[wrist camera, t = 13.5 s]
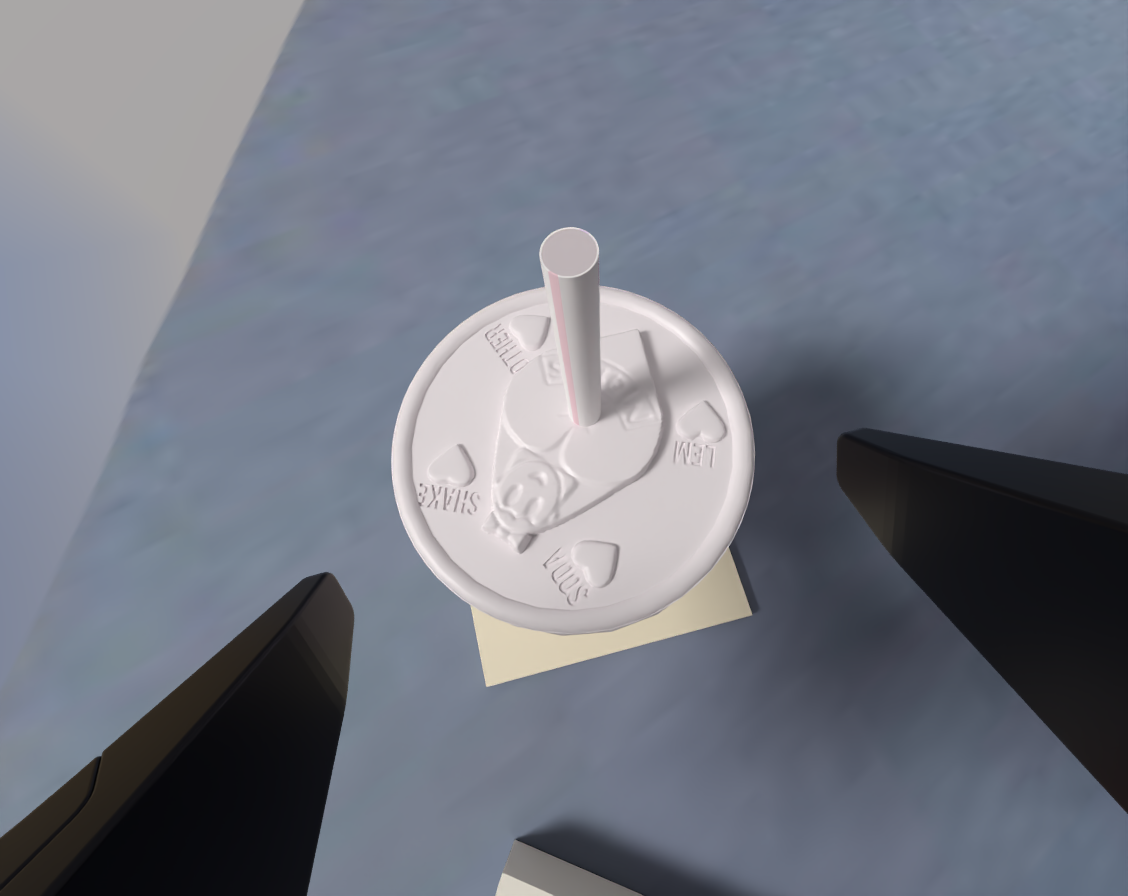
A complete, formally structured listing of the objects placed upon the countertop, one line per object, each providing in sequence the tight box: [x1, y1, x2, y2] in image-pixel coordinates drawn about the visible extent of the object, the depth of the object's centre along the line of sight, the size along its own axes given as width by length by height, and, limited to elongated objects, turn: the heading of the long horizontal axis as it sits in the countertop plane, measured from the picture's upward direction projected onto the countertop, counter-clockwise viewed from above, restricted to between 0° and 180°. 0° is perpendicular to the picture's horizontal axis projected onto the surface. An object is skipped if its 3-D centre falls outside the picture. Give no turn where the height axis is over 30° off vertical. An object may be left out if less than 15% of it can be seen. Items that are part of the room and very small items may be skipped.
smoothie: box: [391, 227, 755, 636], centre depth 11 cm, size 6×6×14 cm
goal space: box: [471, 547, 752, 687], centre depth 18 cm, size 9×9×1 cm
